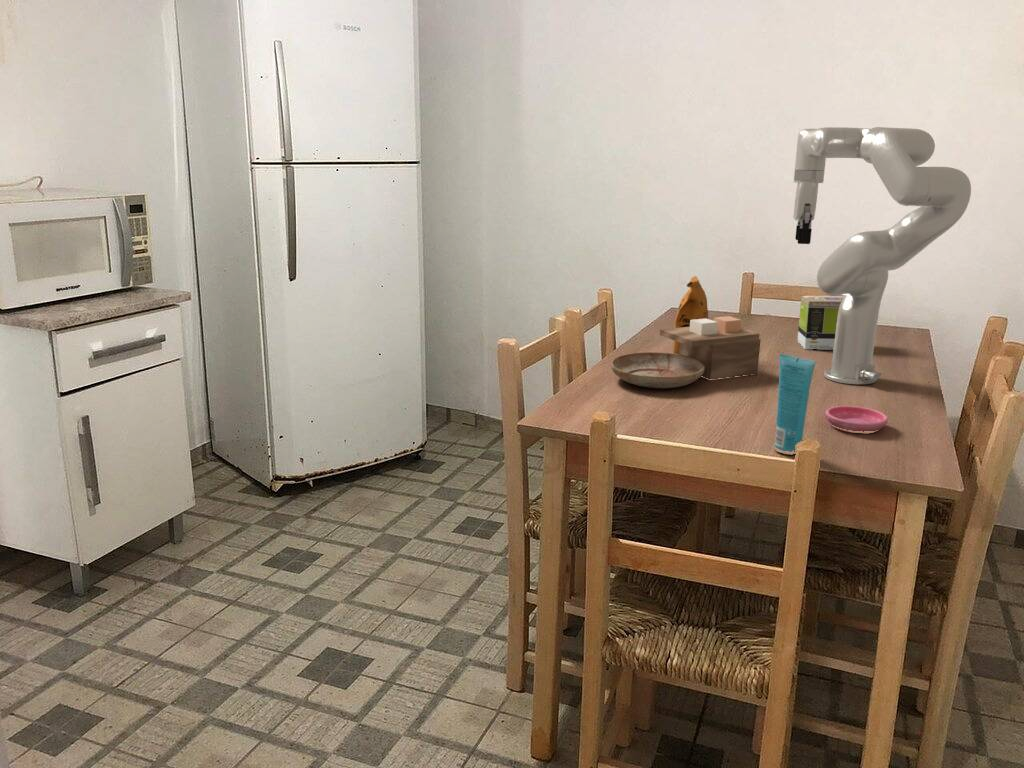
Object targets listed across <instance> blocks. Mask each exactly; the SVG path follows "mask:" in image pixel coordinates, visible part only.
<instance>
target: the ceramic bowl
mask: <svg viewBox="0 0 1024 768" xmlns="http://www.w3.org/2000/svg"><path fill="white" fill-rule="evenodd" d="M610 368H611V370H612V372H613V373H614V374H615V375H616V376H617V377H618V378H620V379H621V380H623V381H625V382H626V383H629V384H632V385H634V386H638V387H642V388H648V389H674V388H675V389H676V388H680V387H685V386H687V385H689V384H692V383H693V382H696V381H697V380H699V379H700V378H702V377H701V376H702V375H703V373H704V370H705V366H704V365H703V364H702V363H701V362H700V361H698V360H696V359H694V358H691V357H688V356H685V355H680V354H673V352H661V351H660V352H659V351H658V352H657V351H653V352H652V351H651V352H650V351H642V352H633V353H626V354H622V355H619V356H616V357H614V358H613V359H612V360H611V362H610ZM650 375H651V376H650ZM652 375H653V376H652Z"/></svg>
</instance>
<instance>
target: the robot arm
mask: <svg viewBox="0 0 1024 768" xmlns="http://www.w3.org/2000/svg"><path fill="white" fill-rule="evenodd" d="M935 148H936V145H935V140H934V137H933V136H932V134H930V133H929V132H927V131H925V130H922V129H919V128H907V127H906V128H905V127H903V128H902V127H883V126H881V127H880V126H875V127H872V128H867V127H866V128H865V127H864V128H863V127H839V126H836V127H835V126H834V127H831V126H829V127H825V126H824V127H820V128H804V129H801V130H800V131H798V135H797V144H796V153H795V154H796V155H795V164H794V166H795V167H794V173H793V174H794V176H793V183H796V184H797V185H796V190H795V191H796V192H795V199H794V209H793V215H792V216H793V219H794V220H795V221H796V222H797V224H796V229H795V241H797V244H798V245H810V244H811V239H812V230H813V229H812V221H814V219H815V215H816V209H817V203H818V193H819V184H824V179H825V169H826V161H827V159H835V158H836V159H837V158H838V159H861V160H863V161H865V162H866V163H868V164H871V165H872V166H873V168H874V170H875V172H876V173H877V175H878V176H879V178H880V180H881V182H882V183H883V185H884V187H885V188H886V190H887V192H888V193H889V195H890V197H891V198H892V199H893V200H894V201H895V202H896V203H898V204H899V205H902V206H905V207H918V208H916V209H914V210H912V211H911V212H909V213H907V214H906V215H904V216H903V217H902V218H901V219H900V220H899V221H898V222H895V224H894V225H892V226H891V227H889V228H887V229H882V230H869V231H868V230H867V231H862V232H858V233H856V234H853V235H852V236H851V237H849V238H847V239H846V240H845V241H844V242H843V243H842V244H841V245H839V247H838V248H837V249H835V250H834V251H833V252H832V253H831V254H830V255H829V256H828V257H827V258H825V260H824V261H823V262H822V263H821V265H820V266H819V268H818V270H817V273H816V282H817V285H818V288H819V289H820V291H821V292H823V293H824V294H825V295H827V296H844V298H843V300H842V302H841V304H840V306H839V310H838V317H837V325H836V333H835V341H834V350H832V359H831V368H827V369H826V370H824V374H823V376H824V378H826V379H827V380H829V381H832V382H836V383H840V384H847V385H871V384H874V383H876V381H878V380H879V378H881V376H882V372H881V371H876V370H875V368H876V365H875V364H874V363H873V357H874V349H875V343H876V335H877V328H878V321H879V315H880V314H879V313H880V307H881V304H882V303H881V302H882V298H883V295H884V292H885V289H886V287H887V283H888V280H889V271H894V270H897V269H900V268H901V267H903V266H904V265H906V264H907V263H908V262H909V261H911V260H912V259H913V258H914V257H916V256H917V255H918V254H919V253H921V252H922V251H924V249H926V248H927V247H928V246H929V245H930V244H932V243H933V242H934V241H935V240H937V238H939V237H940V236H942V235H943V234H945V233H946V232H947V231H949V230H950V229H951V228H953V226H954V225H955V224H957V223H958V221H959V220H960V219H961V218H962V216H963V215H964V214H965V212H966V210H967V208H968V205H969V204H970V199H971V194H972V187H971V186H972V185H971V180H970V179H969V176H968V175H967V174H966V173H965V172H964V171H962V170H960V169H958V168H954V167H948V166H920V165H923V164H925V163H927V162H928V161H929V160H930V159H931V158H932V156H933V155H934V152H935Z"/></svg>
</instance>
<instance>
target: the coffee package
mask: <svg viewBox="0 0 1024 768" xmlns="http://www.w3.org/2000/svg"><path fill="white" fill-rule="evenodd" d="M686 287H688V288H689V289H688V290H687V292H686V293H685V294H684V296H683V297H682V299H680V303H679V306H678V308H677V312H676V313H675V314H676V316H675V320H674V327H673V328H681V327H690V320H694V319H705V318H706V319H709V309H708V299H707V295H706V293H705V290H704V288H703V287H702V285H701V283H700V280H699V278H698V277H697V276H696V275H695V276H692V277H691V278H690V281H689V282H688V283H687V284H686ZM679 347H680V342H677V341H674V340H673V351H672V353H673V354H679Z"/></svg>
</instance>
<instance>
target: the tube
mask: <svg viewBox="0 0 1024 768" xmlns="http://www.w3.org/2000/svg"><path fill="white" fill-rule="evenodd" d="M816 362H817V361H816V360H811V359H807V358H801V357H796V356H793V355H788V354H783V353H779V374H778V375H779V377H778V391H777V392H778V393H777V394H778V395H777V409H776V410H777V413H776V425H775V427H776V428H775V438H774V448H775V447H776V448H778V449H780V450H783V451H789V452H790V451H791V452H792V451H793V450H794V452H795V445H796V444H797V443H798V442H800V441H802V442H803V436H804V429H805V420H806V414H807V408H808V402H809V401H808V400H809V396H810V390H811V384H812V379H813V376H814V375H813V374H814V371H815V370H814V369H815V367H816V366H815V365H816Z"/></svg>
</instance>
